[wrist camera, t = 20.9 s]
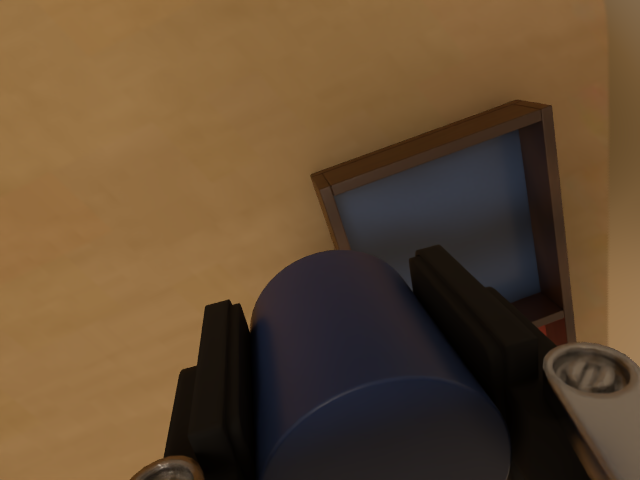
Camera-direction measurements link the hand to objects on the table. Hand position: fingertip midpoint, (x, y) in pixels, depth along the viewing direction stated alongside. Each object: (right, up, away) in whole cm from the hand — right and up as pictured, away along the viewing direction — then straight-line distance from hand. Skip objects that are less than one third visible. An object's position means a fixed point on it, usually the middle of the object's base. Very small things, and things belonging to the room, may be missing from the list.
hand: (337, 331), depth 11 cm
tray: (+9, -3, +20) cm, 21 cm away
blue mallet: (0, -2, +1) cm, 3 cm away
